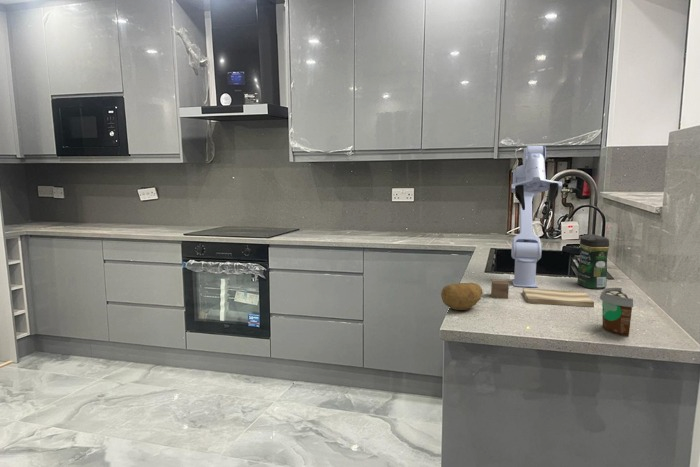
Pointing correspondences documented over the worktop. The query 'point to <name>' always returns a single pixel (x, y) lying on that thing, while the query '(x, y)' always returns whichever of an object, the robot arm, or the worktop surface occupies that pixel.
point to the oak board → (557, 297)
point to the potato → (461, 295)
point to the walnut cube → (499, 289)
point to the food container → (616, 311)
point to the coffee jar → (593, 261)
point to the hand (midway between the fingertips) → (537, 207)
